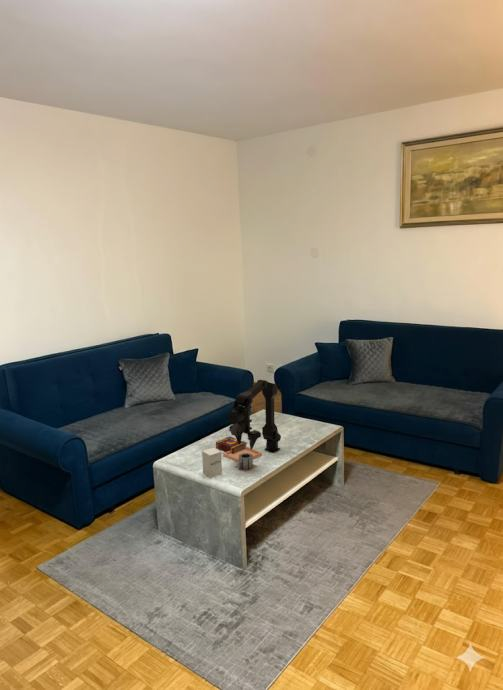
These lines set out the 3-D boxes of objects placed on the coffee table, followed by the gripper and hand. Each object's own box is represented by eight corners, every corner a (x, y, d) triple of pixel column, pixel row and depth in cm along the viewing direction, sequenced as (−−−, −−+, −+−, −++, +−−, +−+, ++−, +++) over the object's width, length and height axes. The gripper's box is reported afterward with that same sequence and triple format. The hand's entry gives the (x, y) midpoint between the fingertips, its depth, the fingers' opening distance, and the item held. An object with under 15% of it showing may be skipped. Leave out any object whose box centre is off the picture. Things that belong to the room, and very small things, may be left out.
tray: (243, 448, 287) (243, 445, 286) (262, 456, 276) (261, 452, 275) (223, 456, 277) (223, 453, 276) (241, 465, 266) (241, 461, 265)
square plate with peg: (246, 462, 269) (246, 456, 268) (258, 467, 262) (258, 461, 262) (234, 467, 263) (233, 461, 262) (245, 472, 256) (245, 466, 256)
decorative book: (233, 456, 278) (232, 447, 277) (214, 448, 290) (213, 440, 289) (247, 449, 286) (247, 441, 285) (228, 442, 297) (228, 434, 296)
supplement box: (210, 478, 251) (209, 455, 249) (202, 473, 257) (201, 450, 255) (222, 474, 255) (221, 451, 253) (214, 469, 261) (213, 447, 259)
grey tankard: (246, 462, 267) (246, 452, 266) (255, 466, 262) (255, 455, 261) (234, 467, 261) (233, 457, 260) (243, 472, 256) (242, 461, 255)
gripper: (220, 418, 259) (222, 446, 262) (245, 427, 245) (246, 456, 248) (236, 412, 266) (237, 440, 269) (261, 421, 253) (262, 449, 256)
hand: (245, 446), depth 260 cm, fingers open, 9 cm apart
